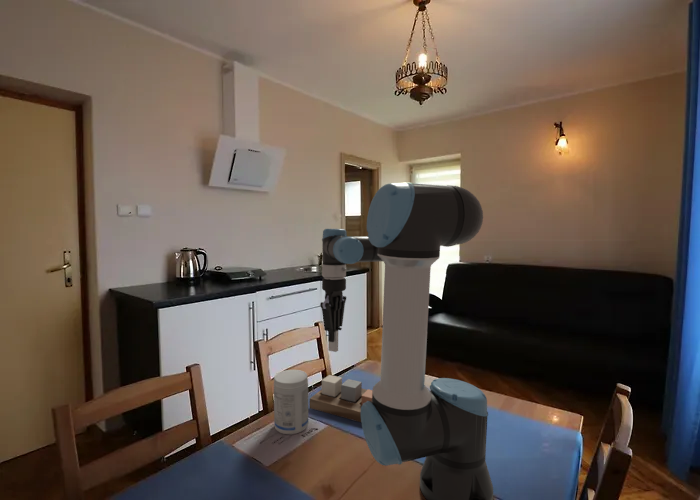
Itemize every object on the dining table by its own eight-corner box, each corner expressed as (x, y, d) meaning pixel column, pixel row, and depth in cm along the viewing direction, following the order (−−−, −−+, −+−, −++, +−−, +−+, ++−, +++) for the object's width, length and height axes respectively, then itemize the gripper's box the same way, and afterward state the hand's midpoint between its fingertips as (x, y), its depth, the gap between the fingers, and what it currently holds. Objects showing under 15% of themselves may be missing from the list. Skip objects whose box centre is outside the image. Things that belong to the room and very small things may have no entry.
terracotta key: (376, 413, 108) (376, 399, 107) (361, 409, 110) (361, 395, 109) (382, 406, 112) (382, 392, 112) (367, 402, 114) (368, 389, 114)
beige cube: (334, 397, 114) (334, 383, 113) (321, 393, 116) (321, 380, 116) (341, 390, 118) (342, 377, 118) (329, 387, 120) (329, 374, 120)
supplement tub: (297, 413, 109) (297, 366, 108) (315, 427, 102) (315, 376, 101) (267, 424, 103) (267, 374, 102) (284, 440, 96) (284, 386, 95)
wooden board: (375, 426, 103) (375, 415, 103) (309, 408, 113) (309, 398, 112) (391, 404, 115) (392, 395, 115) (331, 389, 125) (331, 381, 125)
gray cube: (354, 402, 111) (355, 388, 110) (341, 398, 113) (341, 384, 112) (361, 395, 115) (361, 382, 115) (347, 392, 117) (348, 379, 117)
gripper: (334, 281, 107) (333, 359, 109) (354, 275, 118) (352, 346, 120) (312, 279, 110) (312, 354, 112) (333, 274, 122) (333, 342, 124)
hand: (333, 350), depth 116 cm, fingers closed
